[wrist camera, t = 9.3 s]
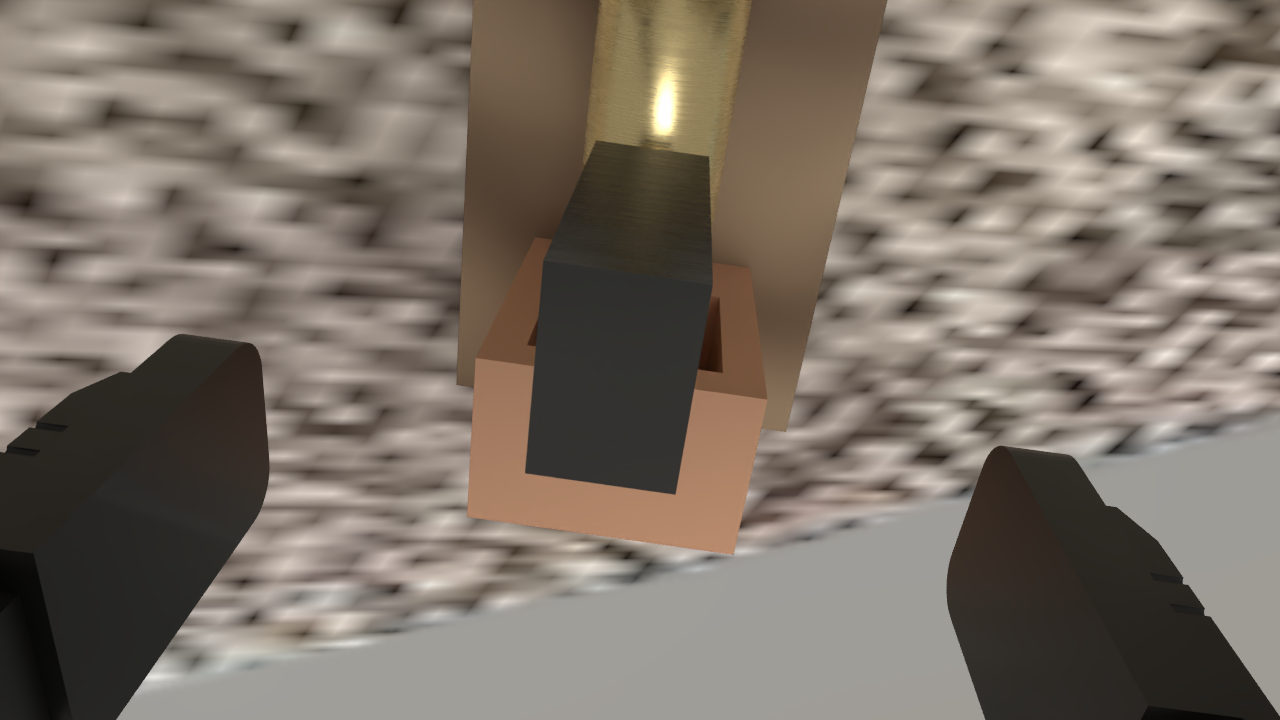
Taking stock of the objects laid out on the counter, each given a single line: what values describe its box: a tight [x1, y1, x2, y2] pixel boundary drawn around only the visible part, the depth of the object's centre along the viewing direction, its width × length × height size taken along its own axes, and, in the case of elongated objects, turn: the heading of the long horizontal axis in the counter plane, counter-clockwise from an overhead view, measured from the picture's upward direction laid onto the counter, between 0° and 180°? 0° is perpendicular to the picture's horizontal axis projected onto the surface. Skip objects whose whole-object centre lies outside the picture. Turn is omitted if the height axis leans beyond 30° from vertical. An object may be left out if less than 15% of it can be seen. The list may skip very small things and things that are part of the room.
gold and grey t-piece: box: [525, 0, 752, 495], centre depth 16 cm, size 13×3×11 cm, turn 173°
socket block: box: [467, 237, 768, 554], centre depth 23 cm, size 4×6×8 cm, turn 83°
